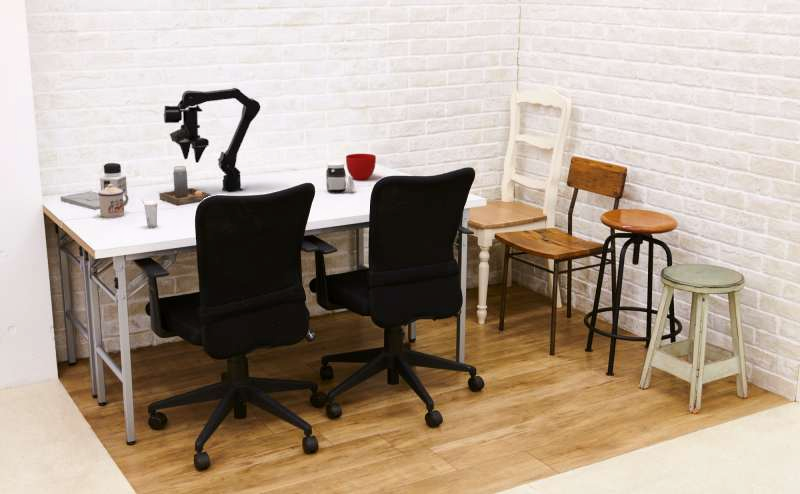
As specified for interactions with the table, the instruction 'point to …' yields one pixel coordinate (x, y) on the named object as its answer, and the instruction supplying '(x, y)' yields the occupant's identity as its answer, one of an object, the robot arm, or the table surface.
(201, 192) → the ball
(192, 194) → the tray
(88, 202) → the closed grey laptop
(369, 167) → the ceramic cup
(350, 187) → the spread jar
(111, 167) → the container
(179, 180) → the cylinder
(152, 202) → the milkshake
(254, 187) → the table surface
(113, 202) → the teacup with lid
